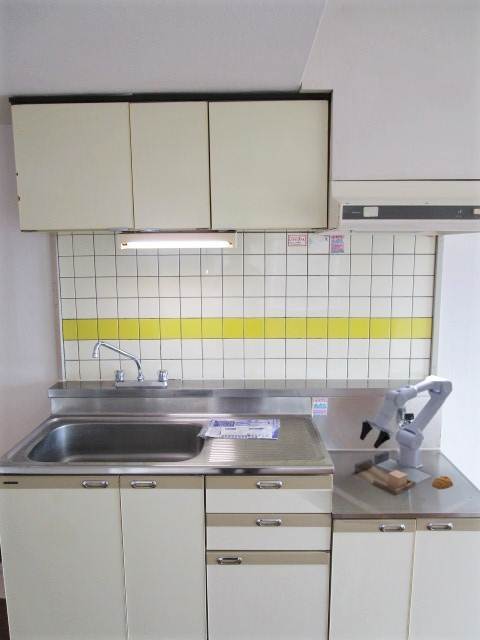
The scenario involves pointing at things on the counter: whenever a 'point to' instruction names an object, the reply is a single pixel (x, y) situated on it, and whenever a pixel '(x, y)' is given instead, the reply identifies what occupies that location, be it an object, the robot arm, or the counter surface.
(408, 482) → the wooden tray
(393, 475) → the terracotta block
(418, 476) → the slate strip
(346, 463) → the counter surface
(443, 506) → the counter surface
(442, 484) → the pastry
